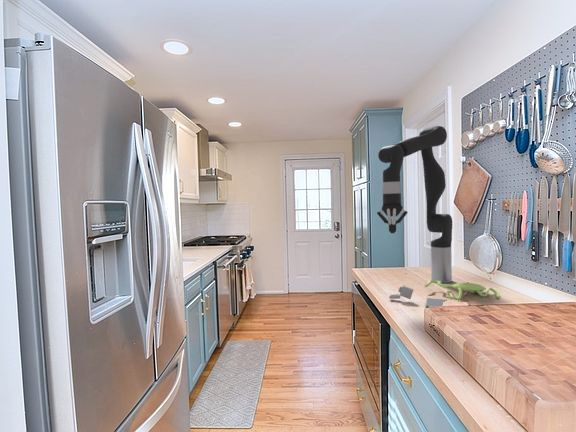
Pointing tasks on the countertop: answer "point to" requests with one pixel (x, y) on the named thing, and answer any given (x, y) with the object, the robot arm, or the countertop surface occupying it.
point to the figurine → (466, 289)
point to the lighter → (403, 293)
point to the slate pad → (434, 302)
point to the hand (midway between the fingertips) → (392, 233)
